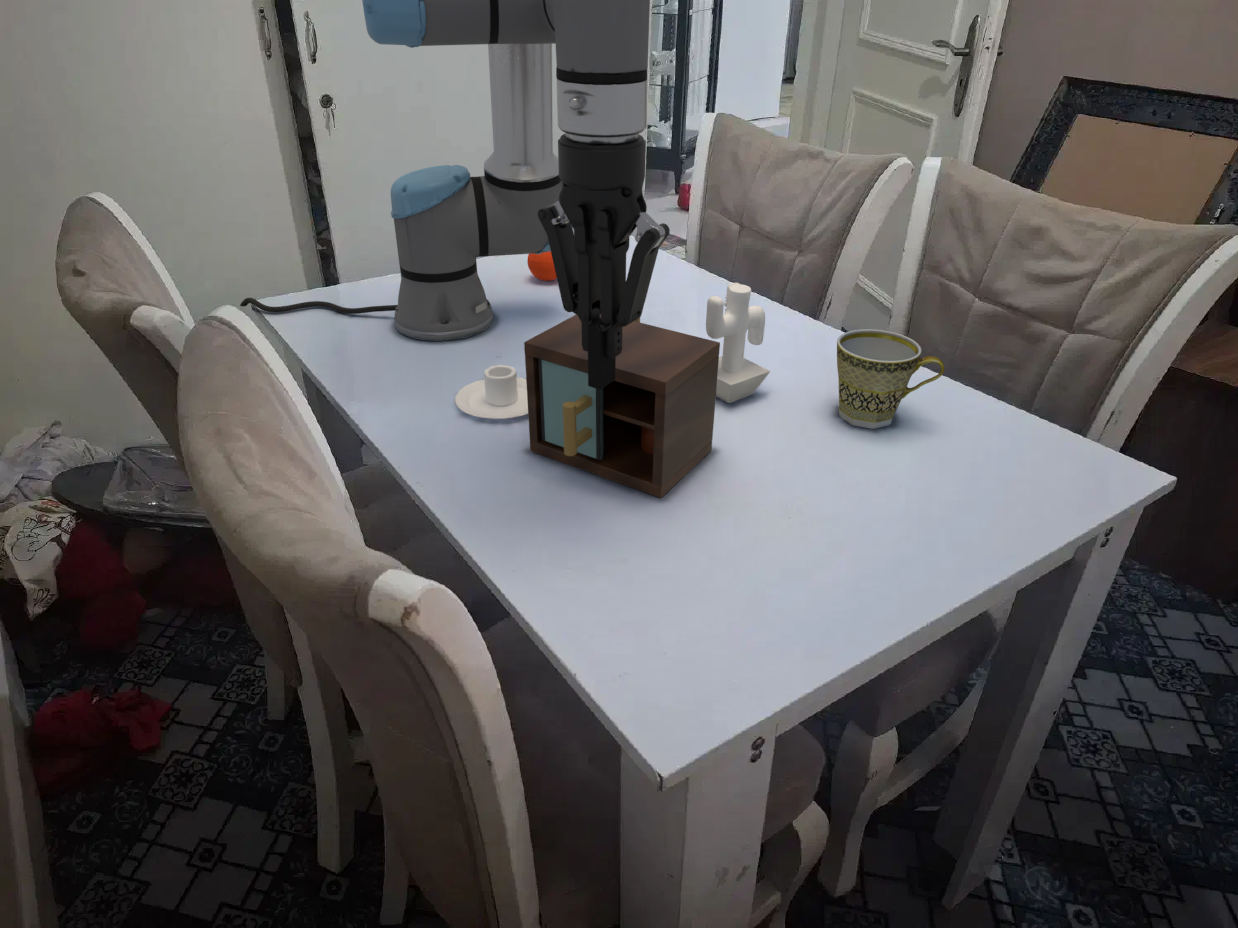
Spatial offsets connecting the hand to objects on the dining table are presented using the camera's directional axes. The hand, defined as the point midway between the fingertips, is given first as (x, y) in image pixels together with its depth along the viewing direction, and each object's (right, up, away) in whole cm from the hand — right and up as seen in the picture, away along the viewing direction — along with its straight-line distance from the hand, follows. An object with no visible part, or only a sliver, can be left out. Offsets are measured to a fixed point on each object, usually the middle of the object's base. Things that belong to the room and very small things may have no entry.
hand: (601, 382), depth 82 cm
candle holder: (-14, 0, +26) cm, 29 cm away
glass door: (-5, -7, +11) cm, 14 cm away
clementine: (-11, +25, +67) cm, 72 cm away
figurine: (+17, +1, +29) cm, 33 cm away
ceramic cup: (+35, -2, +23) cm, 42 cm away
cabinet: (+2, -7, +15) cm, 17 cm away
